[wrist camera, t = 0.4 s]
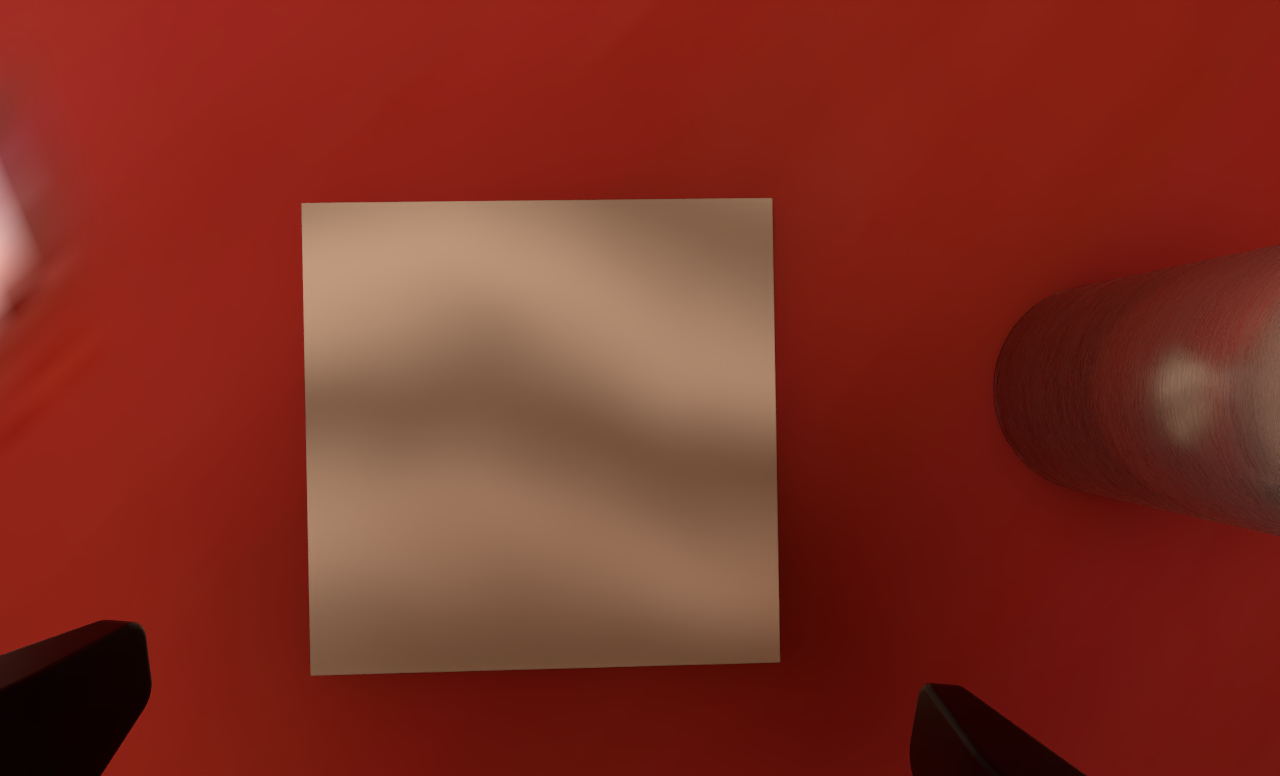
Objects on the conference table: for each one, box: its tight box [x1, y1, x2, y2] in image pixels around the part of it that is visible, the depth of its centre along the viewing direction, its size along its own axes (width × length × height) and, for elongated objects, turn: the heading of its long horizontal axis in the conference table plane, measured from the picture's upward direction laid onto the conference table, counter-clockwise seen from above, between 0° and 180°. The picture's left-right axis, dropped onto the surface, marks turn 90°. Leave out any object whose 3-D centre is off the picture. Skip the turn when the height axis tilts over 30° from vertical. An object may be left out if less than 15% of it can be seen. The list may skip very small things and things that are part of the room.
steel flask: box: [994, 244, 1280, 536], centre depth 16 cm, size 6×6×12 cm
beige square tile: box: [302, 198, 780, 676], centre depth 22 cm, size 13×13×1 cm
